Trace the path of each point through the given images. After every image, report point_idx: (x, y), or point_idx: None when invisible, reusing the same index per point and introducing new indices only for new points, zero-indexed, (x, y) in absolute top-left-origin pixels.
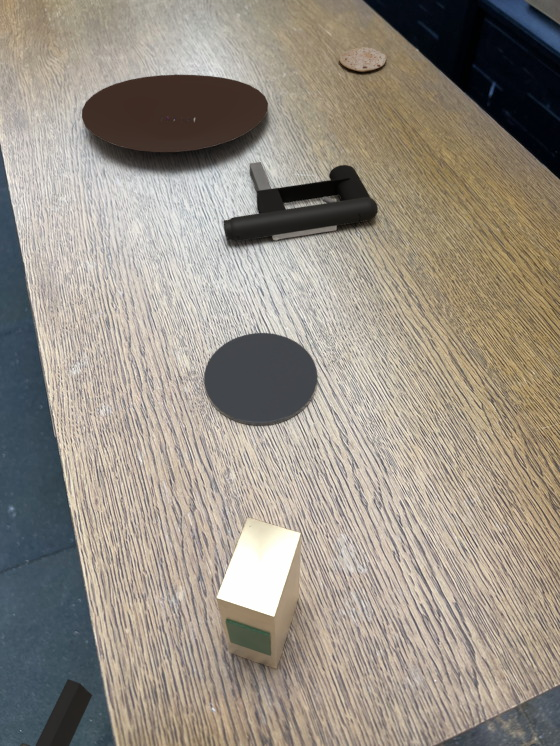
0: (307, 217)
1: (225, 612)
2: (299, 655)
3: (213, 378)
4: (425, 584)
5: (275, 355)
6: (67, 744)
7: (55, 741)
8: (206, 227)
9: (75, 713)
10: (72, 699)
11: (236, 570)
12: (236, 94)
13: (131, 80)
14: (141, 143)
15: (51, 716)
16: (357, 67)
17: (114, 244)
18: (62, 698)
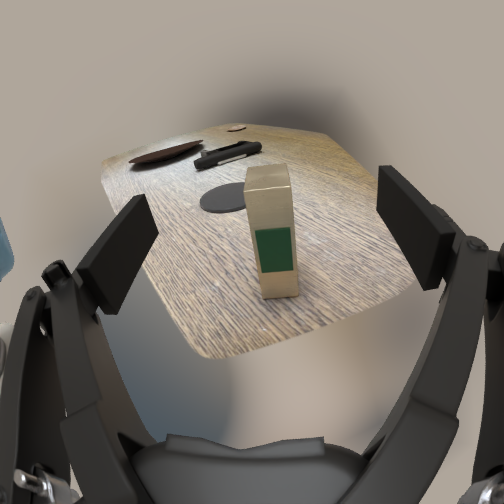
0: (231, 151)
1: (253, 215)
2: (309, 285)
3: (205, 202)
4: (361, 236)
5: (234, 188)
6: (141, 256)
7: (126, 225)
8: (186, 171)
9: (144, 225)
10: (138, 200)
11: (251, 180)
12: (189, 144)
13: (146, 154)
14: (153, 160)
15: (121, 211)
16: (235, 129)
17: (146, 187)
18: (130, 202)
